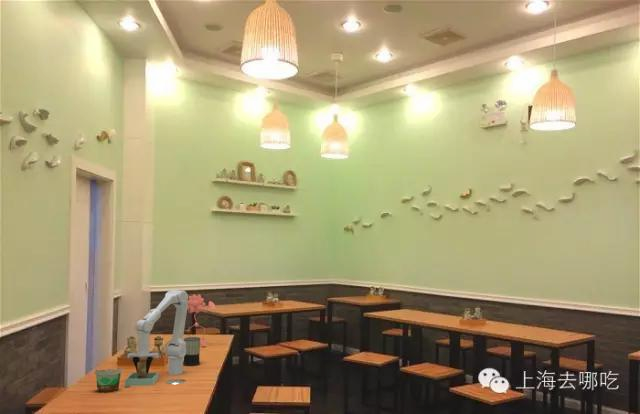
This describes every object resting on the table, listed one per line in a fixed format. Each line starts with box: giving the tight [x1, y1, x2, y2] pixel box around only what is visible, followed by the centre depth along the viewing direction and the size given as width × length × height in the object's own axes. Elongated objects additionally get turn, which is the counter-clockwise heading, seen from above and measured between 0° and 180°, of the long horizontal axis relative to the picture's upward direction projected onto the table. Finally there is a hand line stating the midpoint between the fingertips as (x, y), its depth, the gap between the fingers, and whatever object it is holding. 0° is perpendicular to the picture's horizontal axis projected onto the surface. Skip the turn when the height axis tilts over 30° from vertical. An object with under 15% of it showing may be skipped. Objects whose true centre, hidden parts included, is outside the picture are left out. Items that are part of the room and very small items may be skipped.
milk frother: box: [183, 336, 202, 367], centre depth 319 cm, size 14×16×15 cm
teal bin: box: [124, 371, 160, 388], centre depth 277 cm, size 13×13×4 cm
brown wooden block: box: [136, 359, 149, 379], centre depth 277 cm, size 5×6×8 cm
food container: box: [94, 367, 123, 393], centre depth 263 cm, size 12×6×10 cm, turn 105°
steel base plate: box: [164, 378, 187, 385], centre depth 278 cm, size 10×10×1 cm
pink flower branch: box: [187, 293, 216, 347], centre depth 370 cm, size 15×26×35 cm, turn 88°
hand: (142, 372), depth 277 cm, fingers closed on brown wooden block, 4 cm apart
